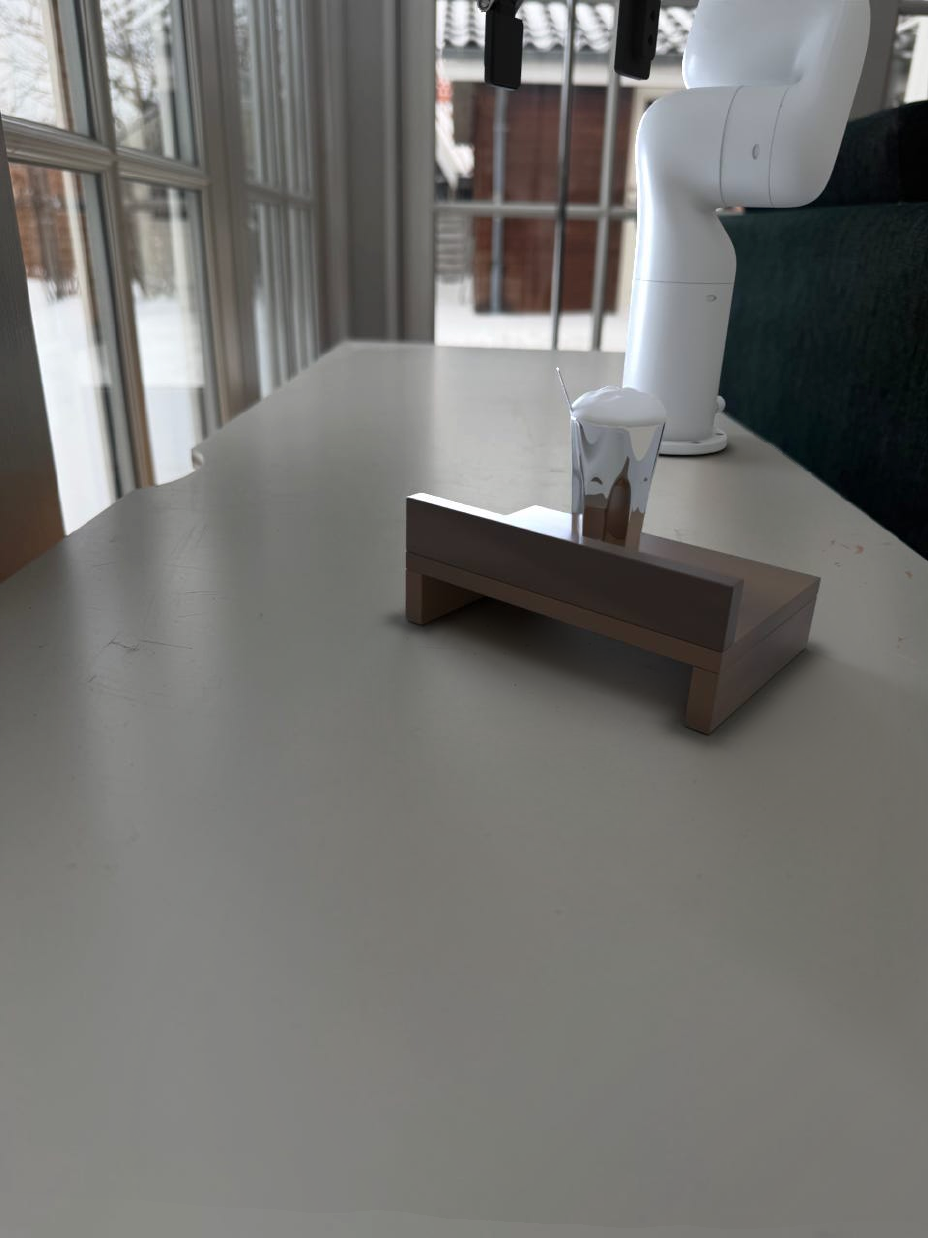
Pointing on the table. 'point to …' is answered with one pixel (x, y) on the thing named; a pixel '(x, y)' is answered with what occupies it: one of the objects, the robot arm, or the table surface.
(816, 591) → the shelf
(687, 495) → the table surface
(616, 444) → the milkshake
